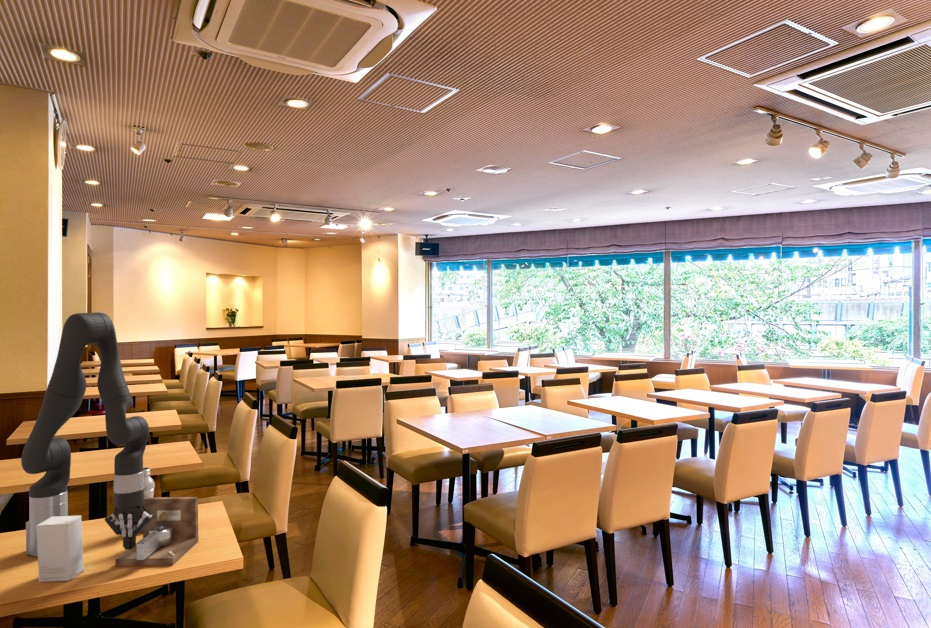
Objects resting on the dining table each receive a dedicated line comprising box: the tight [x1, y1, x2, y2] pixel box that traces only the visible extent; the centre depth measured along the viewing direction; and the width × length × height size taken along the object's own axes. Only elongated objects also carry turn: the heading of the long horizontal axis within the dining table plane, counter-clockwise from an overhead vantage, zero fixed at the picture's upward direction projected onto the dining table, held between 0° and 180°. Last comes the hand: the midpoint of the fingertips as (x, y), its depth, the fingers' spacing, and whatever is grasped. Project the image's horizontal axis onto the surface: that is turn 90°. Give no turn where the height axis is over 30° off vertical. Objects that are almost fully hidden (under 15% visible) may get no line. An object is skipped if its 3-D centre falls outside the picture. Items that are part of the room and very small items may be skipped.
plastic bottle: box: [137, 467, 156, 528], centre depth 183 cm, size 6×7×20 cm
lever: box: [136, 525, 172, 560], centre depth 163 cm, size 14×6×5 cm, turn 2°
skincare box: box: [36, 515, 85, 583], centre depth 151 cm, size 8×7×16 cm
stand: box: [114, 496, 199, 567], centre depth 166 cm, size 16×16×14 cm
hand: (129, 548), depth 160 cm, fingers closed
